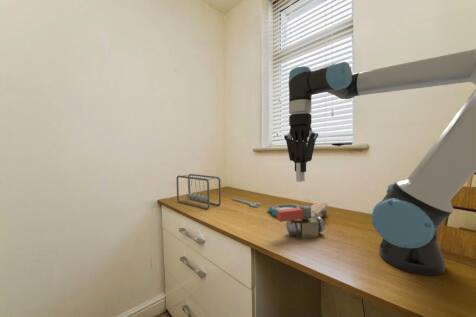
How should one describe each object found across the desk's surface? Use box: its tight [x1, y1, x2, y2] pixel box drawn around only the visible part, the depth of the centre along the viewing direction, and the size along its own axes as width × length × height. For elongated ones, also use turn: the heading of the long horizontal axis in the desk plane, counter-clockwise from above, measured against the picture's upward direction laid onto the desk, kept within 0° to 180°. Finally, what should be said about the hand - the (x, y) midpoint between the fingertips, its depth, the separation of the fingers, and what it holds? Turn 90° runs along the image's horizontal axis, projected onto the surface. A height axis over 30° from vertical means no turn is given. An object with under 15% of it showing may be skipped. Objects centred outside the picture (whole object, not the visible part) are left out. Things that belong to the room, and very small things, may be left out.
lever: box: [276, 205, 311, 223], centre depth 80 cm, size 14×4×4 cm, turn 108°
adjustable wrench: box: [231, 197, 262, 209], centre depth 130 cm, size 25×6×2 cm, turn 35°
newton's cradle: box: [176, 173, 222, 210], centre depth 128 cm, size 30×10×18 cm, turn 52°
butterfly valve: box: [268, 201, 329, 218], centre depth 103 cm, size 27×7×30 cm
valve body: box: [285, 216, 326, 240], centre depth 82 cm, size 13×7×7 cm, turn 103°
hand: (300, 181), depth 73 cm, fingers closed
